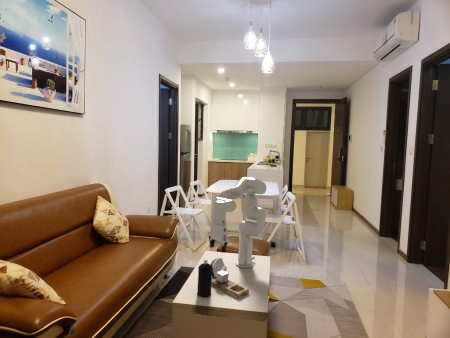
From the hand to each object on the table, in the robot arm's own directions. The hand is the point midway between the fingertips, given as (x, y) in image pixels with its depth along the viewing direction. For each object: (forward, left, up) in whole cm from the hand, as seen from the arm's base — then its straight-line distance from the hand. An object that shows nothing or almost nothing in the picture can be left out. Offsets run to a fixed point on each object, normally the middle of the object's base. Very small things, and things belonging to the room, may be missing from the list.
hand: (217, 249), depth 184 cm
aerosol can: (+12, +2, -23) cm, 26 cm away
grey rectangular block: (-3, +2, -23) cm, 23 cm away
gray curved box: (-14, -12, -23) cm, 29 cm away
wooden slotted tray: (-3, +8, -23) cm, 24 cm away
